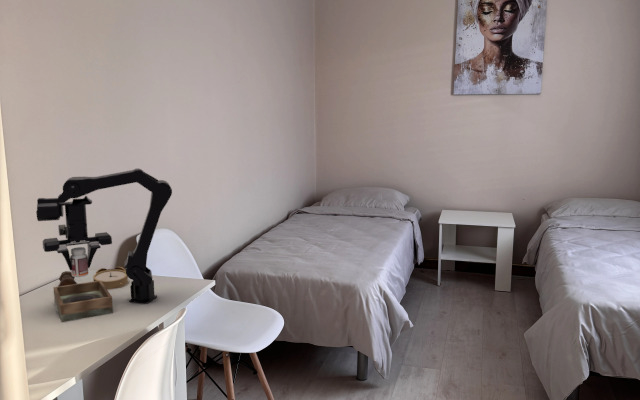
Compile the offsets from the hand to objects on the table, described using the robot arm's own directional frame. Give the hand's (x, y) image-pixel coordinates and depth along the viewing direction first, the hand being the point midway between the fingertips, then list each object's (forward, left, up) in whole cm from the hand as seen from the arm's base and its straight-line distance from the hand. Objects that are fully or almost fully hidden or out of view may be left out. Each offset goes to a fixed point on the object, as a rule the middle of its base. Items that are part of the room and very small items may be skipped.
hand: (79, 268), depth 163 cm
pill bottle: (0, 0, -2) cm, 2 cm away
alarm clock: (+5, -22, -12) cm, 26 cm away
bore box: (-1, +1, -12) cm, 12 cm away
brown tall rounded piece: (+17, -15, -12) cm, 25 cm away
